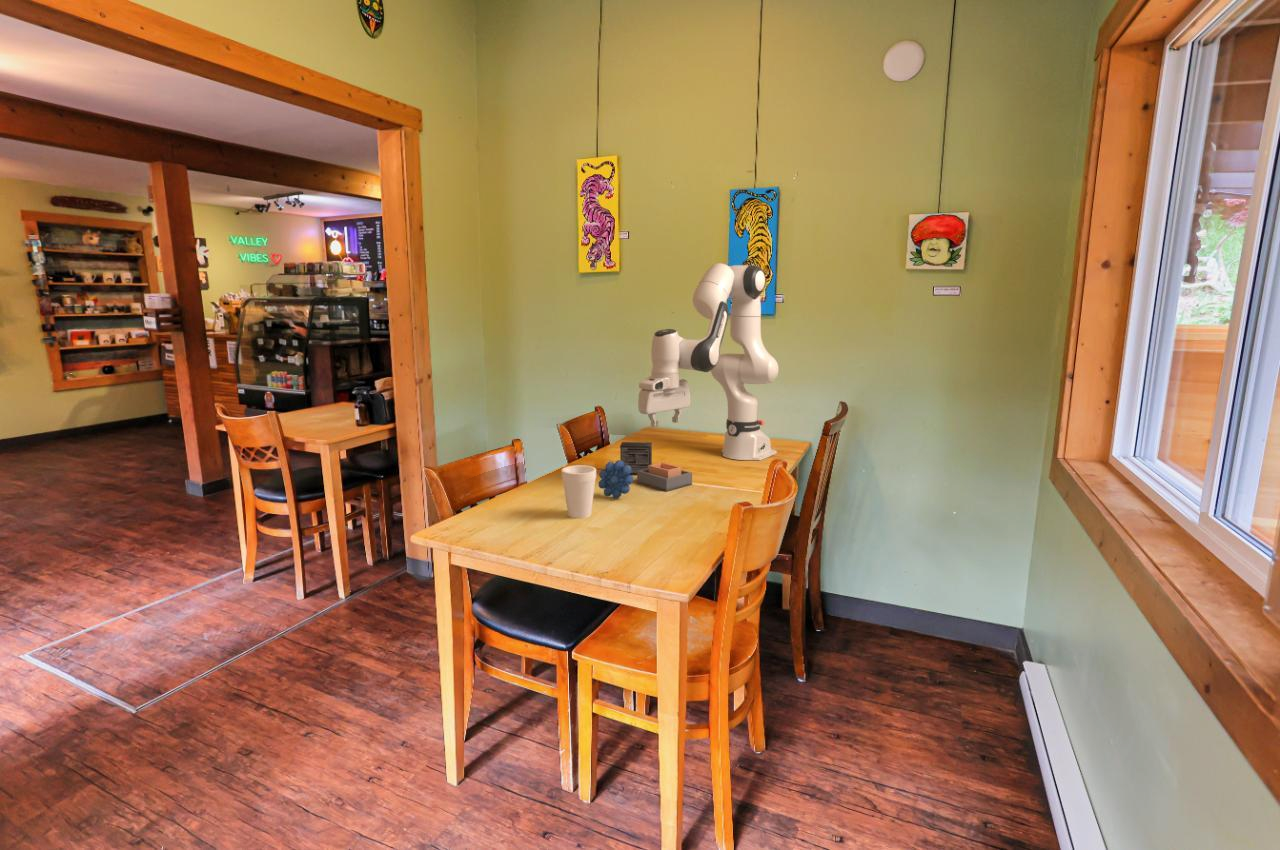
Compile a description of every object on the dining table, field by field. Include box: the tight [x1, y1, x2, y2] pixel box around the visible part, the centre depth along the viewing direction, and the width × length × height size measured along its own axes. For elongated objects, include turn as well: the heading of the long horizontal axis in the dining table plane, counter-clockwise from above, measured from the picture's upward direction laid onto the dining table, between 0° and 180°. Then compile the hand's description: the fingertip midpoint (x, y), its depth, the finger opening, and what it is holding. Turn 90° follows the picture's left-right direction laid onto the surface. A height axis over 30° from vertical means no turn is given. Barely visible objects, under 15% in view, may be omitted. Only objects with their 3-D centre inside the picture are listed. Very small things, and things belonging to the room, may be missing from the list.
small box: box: [619, 441, 653, 476], centre depth 220 cm, size 11×6×10 cm, turn 84°
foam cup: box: [561, 464, 597, 519], centre depth 177 cm, size 10×9×13 cm
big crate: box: [636, 468, 693, 493], centre depth 208 cm, size 12×14×4 cm
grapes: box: [598, 459, 635, 499], centre depth 193 cm, size 12×7×12 cm, turn 66°
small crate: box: [649, 461, 682, 478], centre depth 208 cm, size 6×9×5 cm, turn 42°
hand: (665, 424), depth 205 cm, fingers open, 8 cm apart
